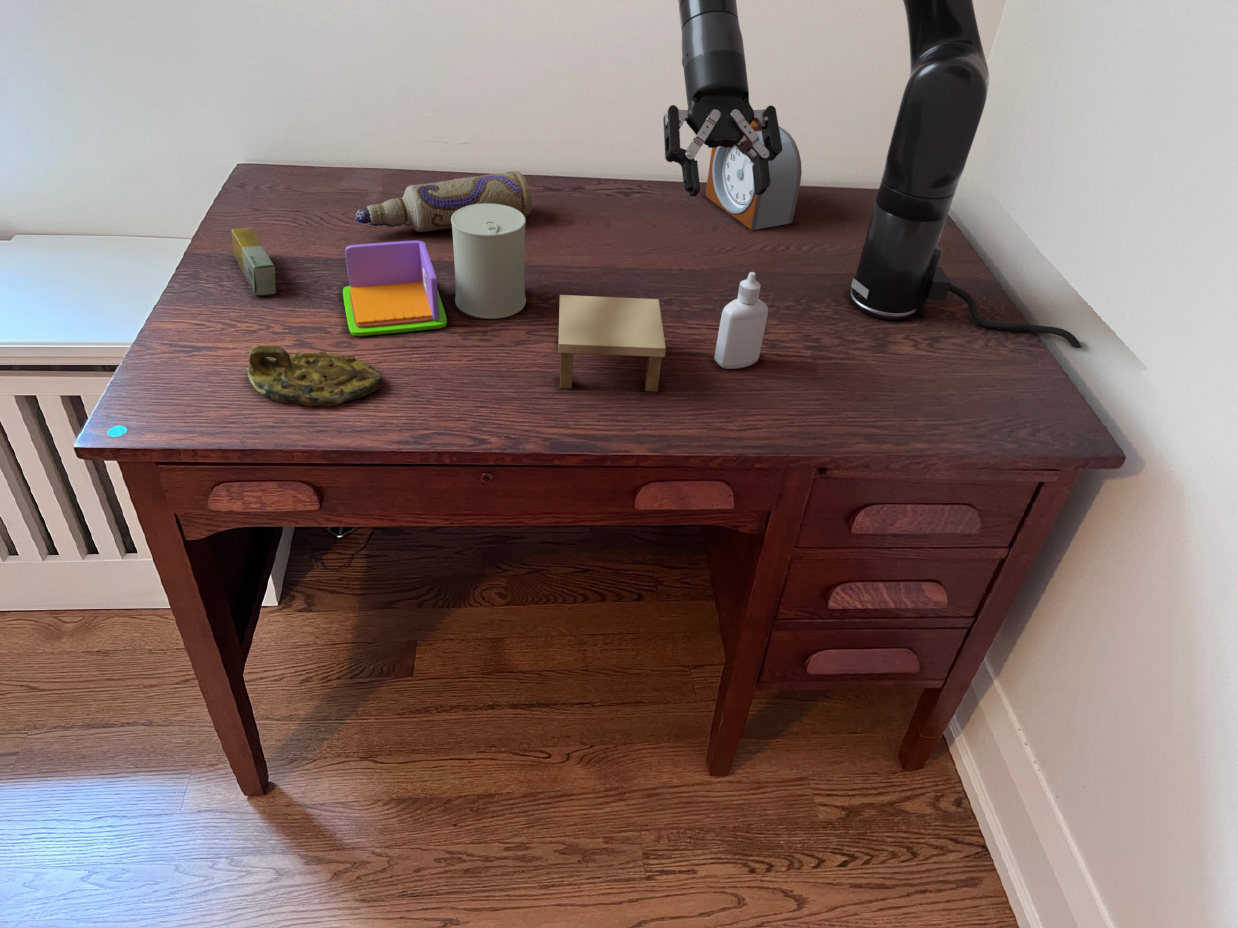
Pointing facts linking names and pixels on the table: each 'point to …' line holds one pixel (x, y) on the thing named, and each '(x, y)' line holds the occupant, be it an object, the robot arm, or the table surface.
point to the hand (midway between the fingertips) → (728, 193)
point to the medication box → (254, 262)
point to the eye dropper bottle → (742, 327)
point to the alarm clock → (736, 184)
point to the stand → (610, 332)
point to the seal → (310, 376)
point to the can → (489, 260)
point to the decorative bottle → (448, 201)
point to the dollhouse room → (391, 289)
